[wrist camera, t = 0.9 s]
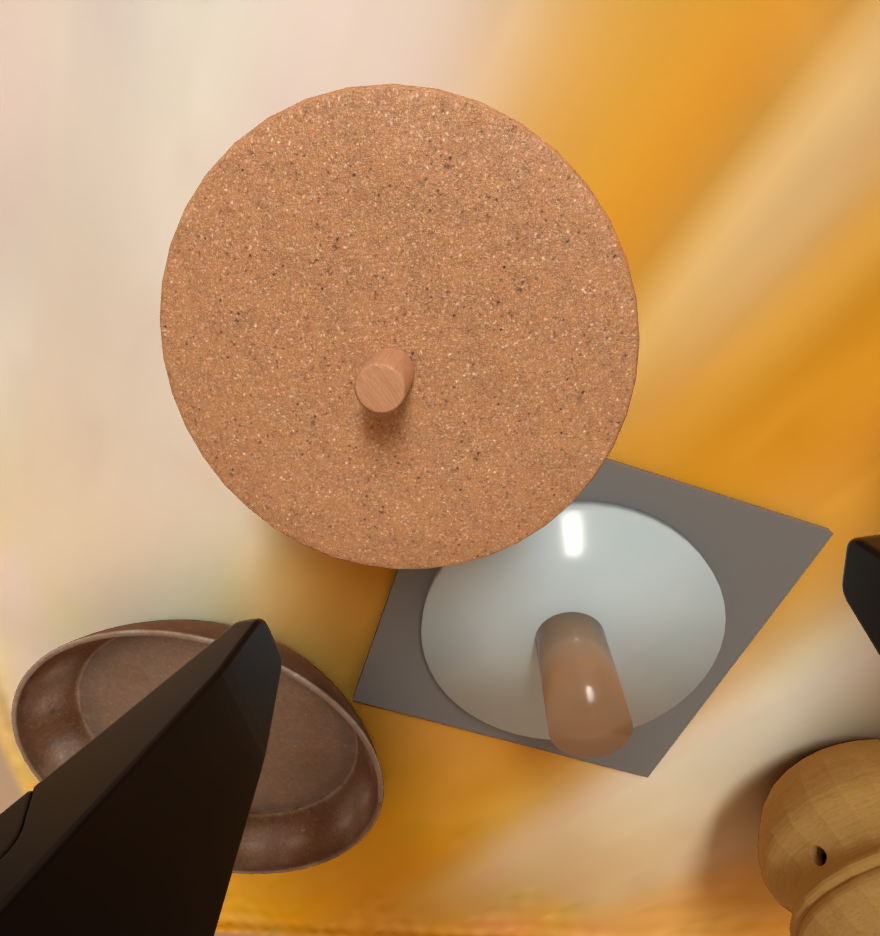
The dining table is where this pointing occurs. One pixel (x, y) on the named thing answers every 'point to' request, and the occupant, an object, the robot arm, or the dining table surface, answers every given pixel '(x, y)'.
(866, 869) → the pot
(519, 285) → the lidded jar
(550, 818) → the dining table surface
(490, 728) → the mat
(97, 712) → the plant saucer
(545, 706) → the lid
